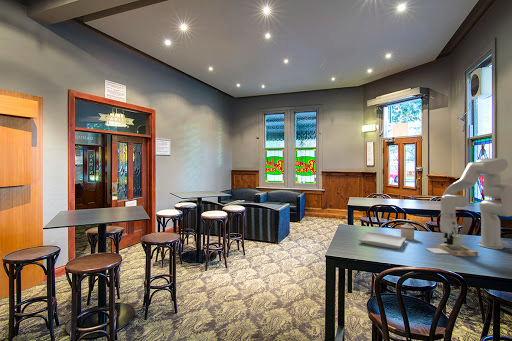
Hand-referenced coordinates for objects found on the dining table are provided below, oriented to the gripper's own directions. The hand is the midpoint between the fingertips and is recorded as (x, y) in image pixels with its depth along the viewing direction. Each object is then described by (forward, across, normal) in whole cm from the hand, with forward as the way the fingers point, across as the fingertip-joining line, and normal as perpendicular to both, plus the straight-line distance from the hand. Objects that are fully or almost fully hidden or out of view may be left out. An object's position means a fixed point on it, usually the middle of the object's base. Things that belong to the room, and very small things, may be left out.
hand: (448, 243), depth 162 cm
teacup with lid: (+5, +31, +9) cm, 33 cm away
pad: (+5, 0, +7) cm, 9 cm away
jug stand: (+5, 0, -5) cm, 7 cm away
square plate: (+5, +19, +33) cm, 39 cm away
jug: (+3, 0, -2) cm, 4 cm away
